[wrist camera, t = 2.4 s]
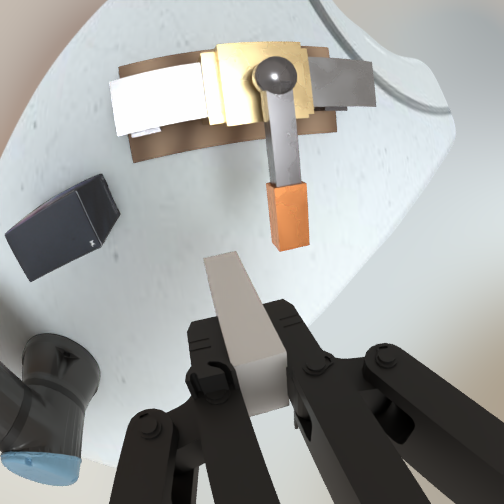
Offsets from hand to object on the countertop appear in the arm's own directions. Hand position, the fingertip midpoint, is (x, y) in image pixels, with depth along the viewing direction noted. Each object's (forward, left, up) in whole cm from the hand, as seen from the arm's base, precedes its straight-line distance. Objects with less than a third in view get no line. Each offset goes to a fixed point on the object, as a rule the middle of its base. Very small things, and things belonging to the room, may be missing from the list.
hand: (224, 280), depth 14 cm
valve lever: (+7, +4, -10) cm, 13 cm away
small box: (-15, 0, -25) cm, 29 cm away
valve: (+7, +10, -23) cm, 26 cm away
